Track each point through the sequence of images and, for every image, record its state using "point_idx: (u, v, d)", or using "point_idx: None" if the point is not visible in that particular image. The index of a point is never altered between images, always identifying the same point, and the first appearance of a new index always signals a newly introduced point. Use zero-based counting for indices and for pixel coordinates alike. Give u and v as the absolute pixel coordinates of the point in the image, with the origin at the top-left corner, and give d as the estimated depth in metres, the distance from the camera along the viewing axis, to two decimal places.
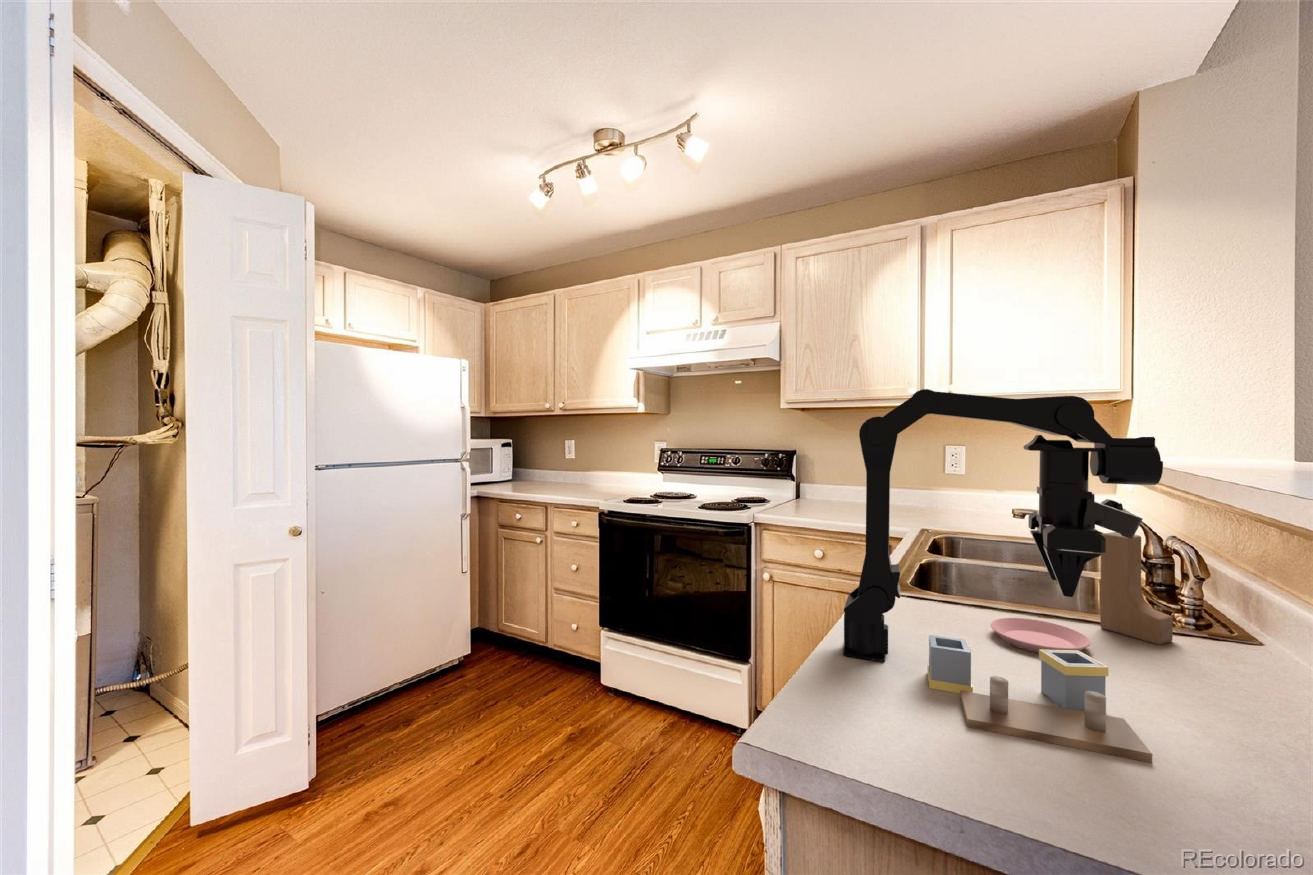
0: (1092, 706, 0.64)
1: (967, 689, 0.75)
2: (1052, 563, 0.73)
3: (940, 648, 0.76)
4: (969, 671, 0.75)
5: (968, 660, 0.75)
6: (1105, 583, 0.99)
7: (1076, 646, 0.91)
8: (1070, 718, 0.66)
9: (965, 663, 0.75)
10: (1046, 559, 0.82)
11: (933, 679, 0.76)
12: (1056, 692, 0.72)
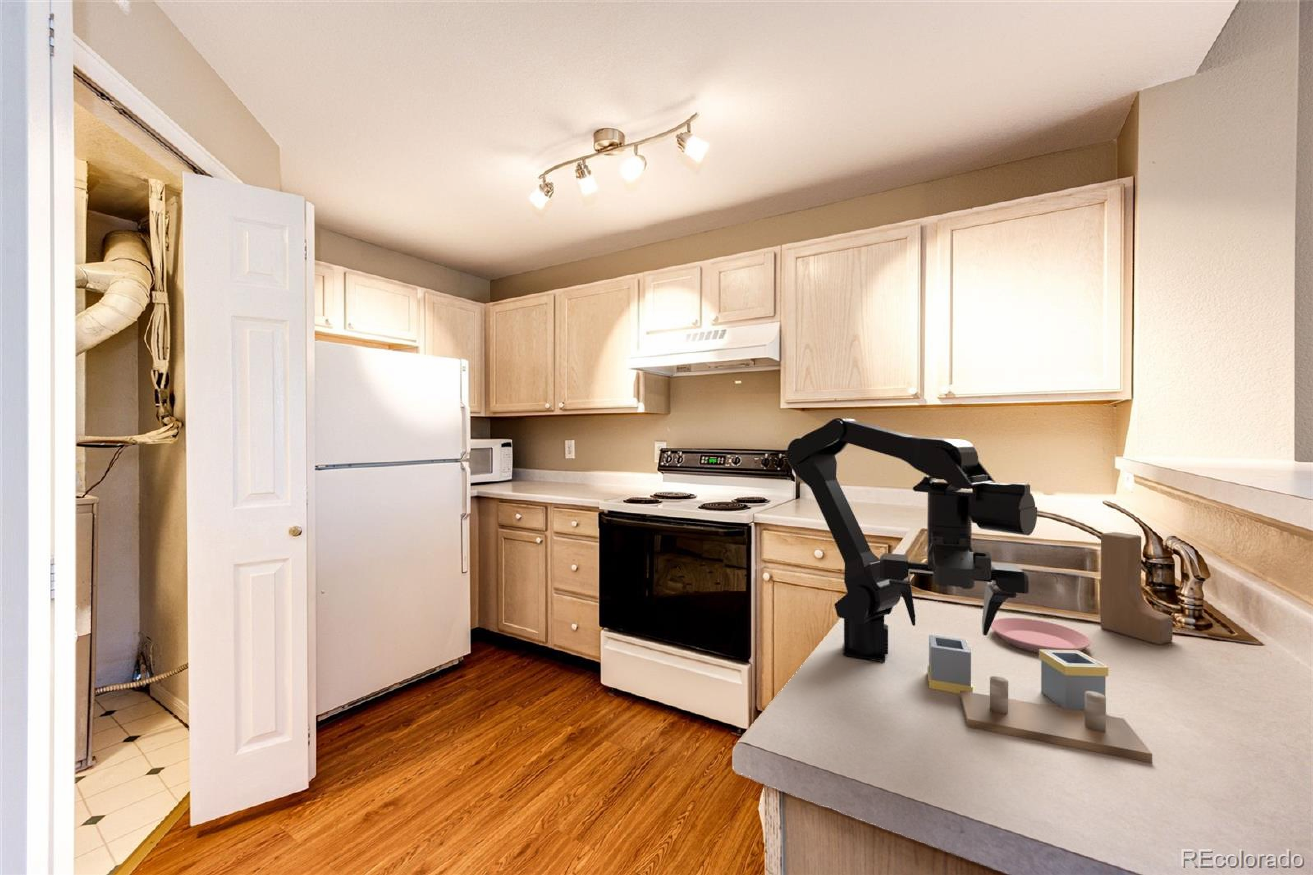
0: (1092, 706, 0.64)
1: (967, 689, 0.75)
2: None
3: (940, 648, 0.76)
4: (969, 671, 0.75)
5: (968, 660, 0.75)
6: (1105, 583, 0.99)
7: (1076, 646, 0.91)
8: (1070, 718, 0.66)
9: (965, 663, 0.75)
10: (984, 611, 0.77)
11: (933, 679, 0.76)
12: (1056, 692, 0.72)
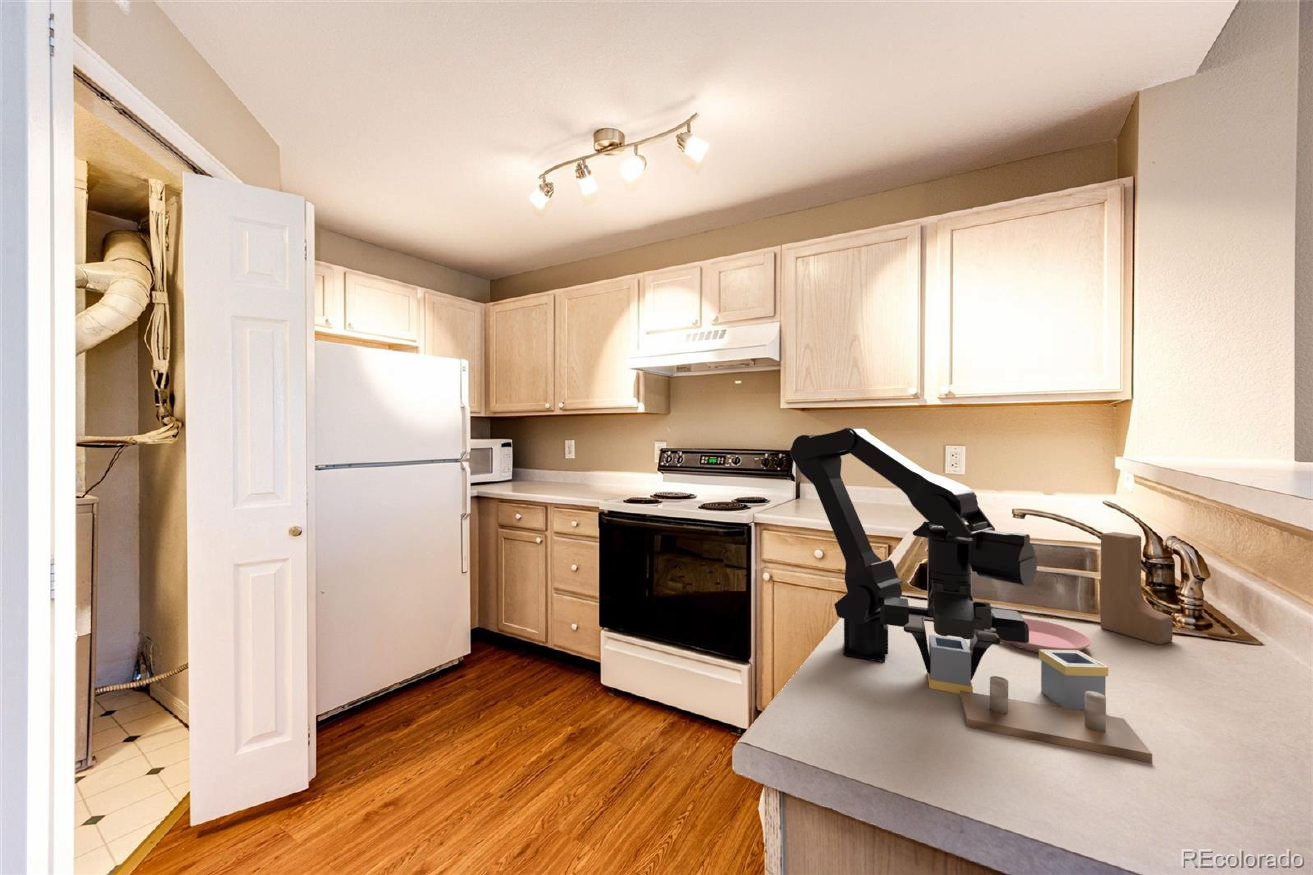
0: (1092, 706, 0.64)
1: (967, 689, 0.75)
2: None
3: (940, 648, 0.76)
4: (969, 671, 0.75)
5: (968, 660, 0.75)
6: (1105, 583, 0.99)
7: (1076, 646, 0.91)
8: (1070, 718, 0.66)
9: (965, 663, 0.75)
10: None
11: (933, 679, 0.76)
12: (1056, 692, 0.72)
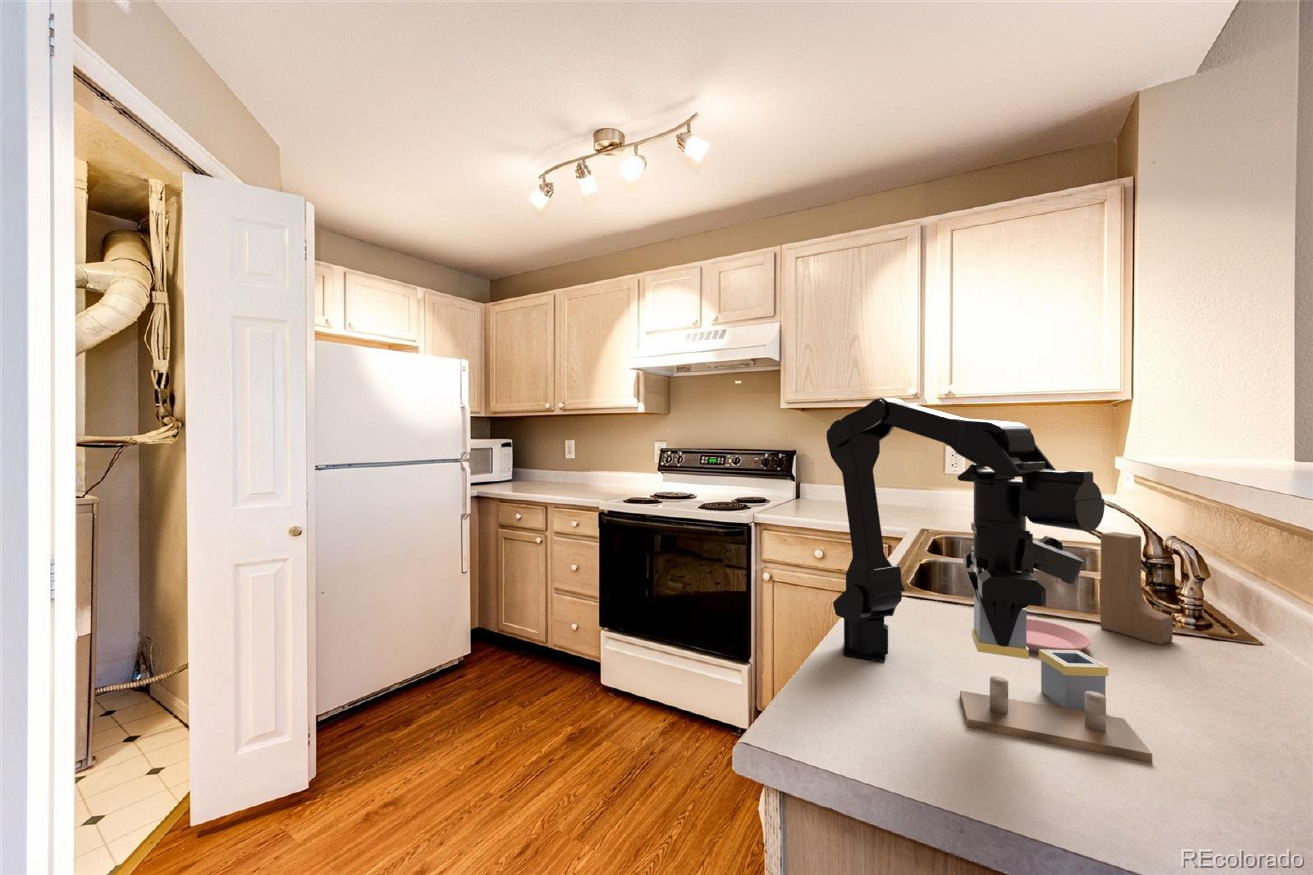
0: (1092, 706, 0.64)
1: None
2: (985, 610, 0.65)
3: None
4: None
5: None
6: (1105, 583, 0.99)
7: (1076, 646, 0.91)
8: (1070, 718, 0.66)
9: None
10: None
11: (1025, 646, 0.65)
12: (1056, 692, 0.72)
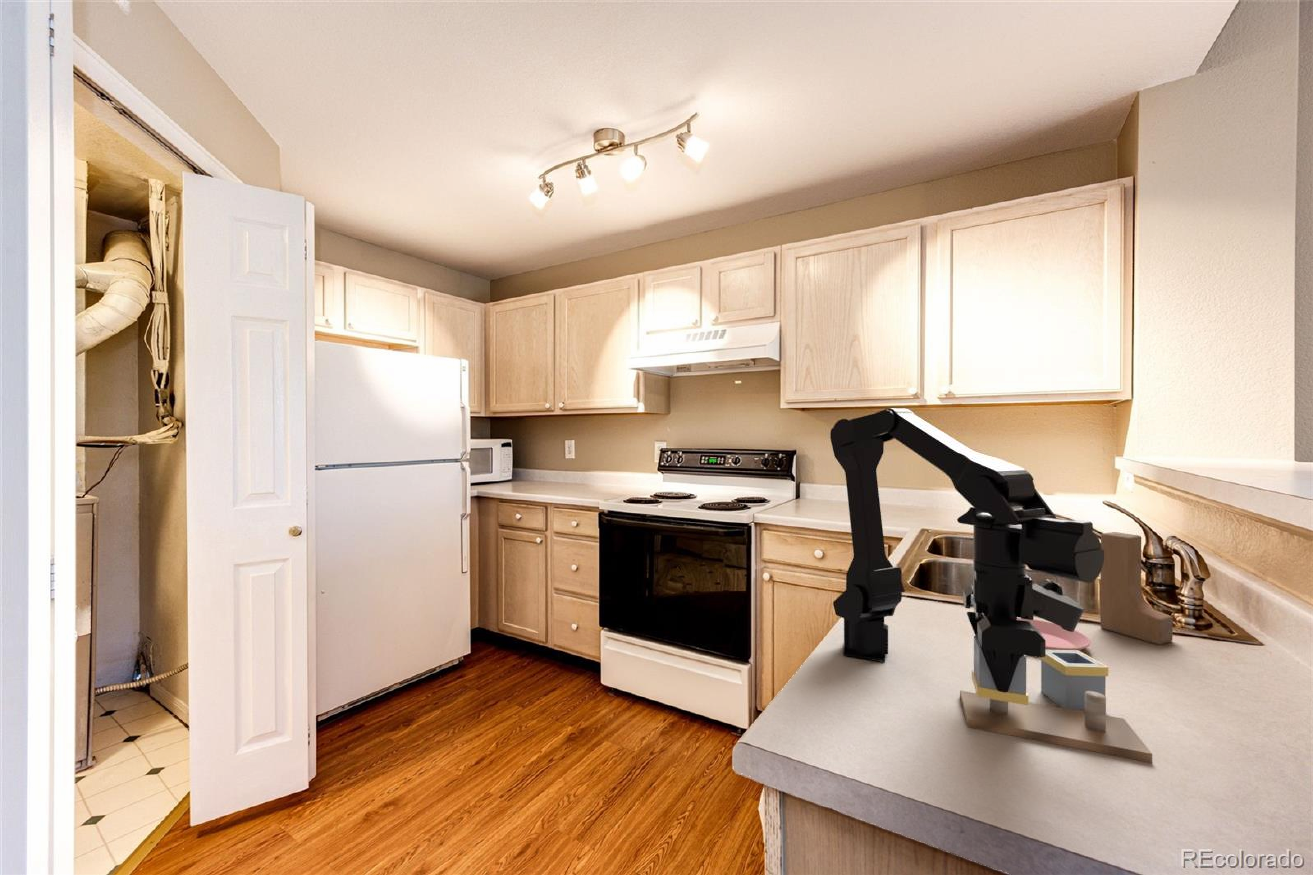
0: (1092, 706, 0.64)
1: None
2: (985, 656, 0.65)
3: None
4: None
5: None
6: (1105, 583, 0.99)
7: (1076, 646, 0.91)
8: (1070, 718, 0.66)
9: None
10: None
11: (1025, 692, 0.66)
12: (1056, 692, 0.72)
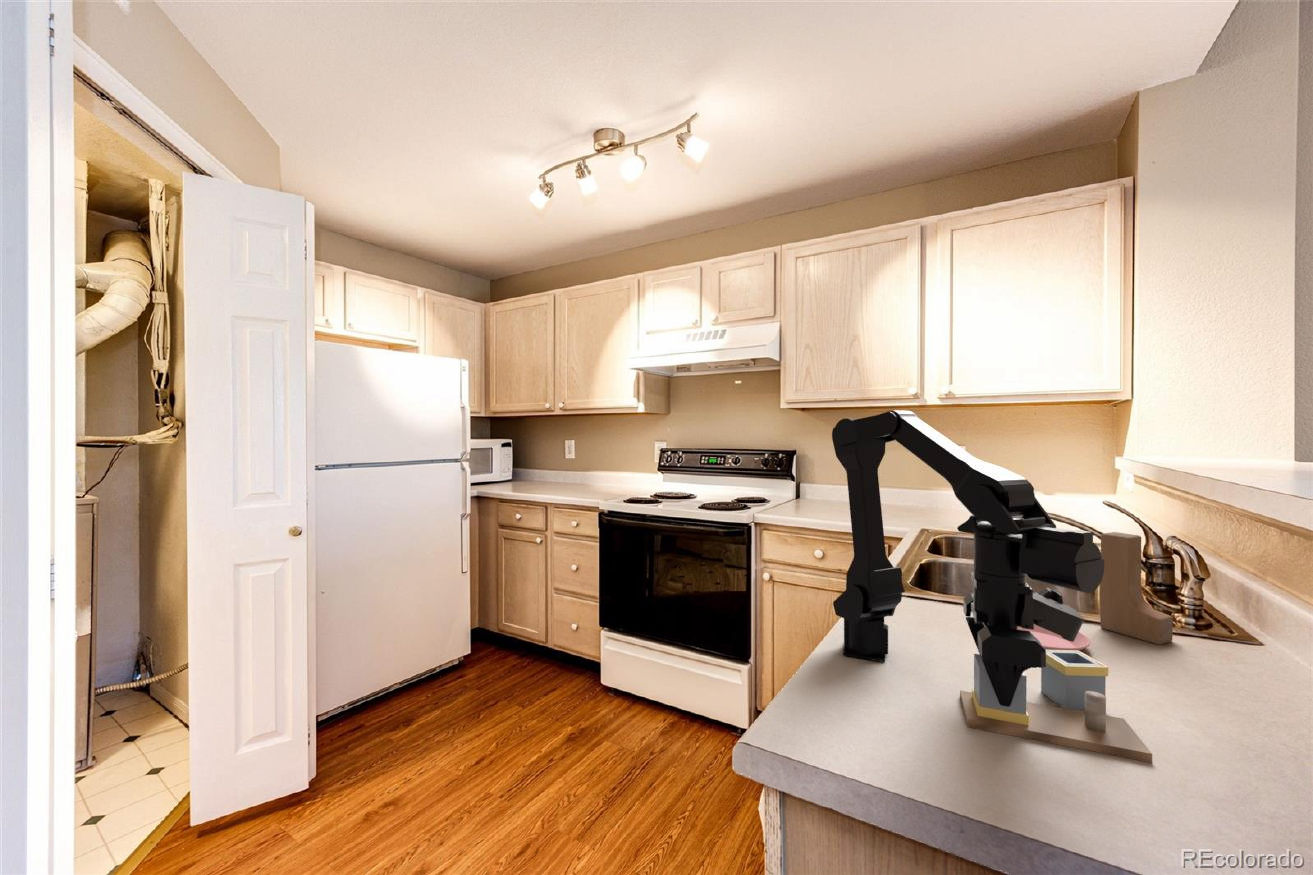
0: (1092, 706, 0.64)
1: None
2: (987, 670, 0.64)
3: (1024, 672, 0.66)
4: None
5: None
6: (1105, 583, 0.99)
7: (1076, 646, 0.91)
8: (1070, 718, 0.66)
9: None
10: None
11: (1025, 712, 0.66)
12: (1056, 692, 0.72)
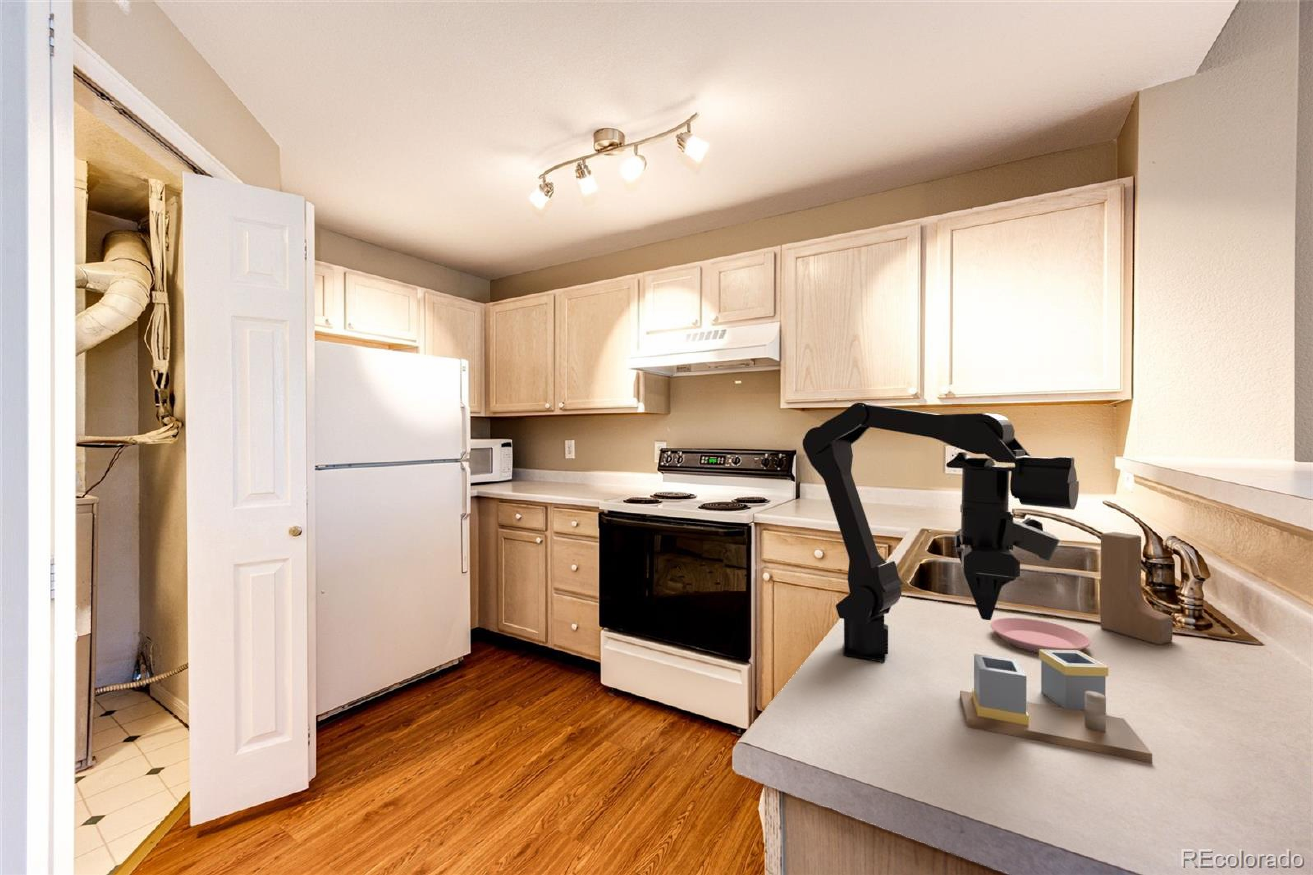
0: (1092, 706, 0.64)
1: None
2: (970, 586, 0.71)
3: (1024, 672, 0.66)
4: None
5: None
6: (1105, 583, 0.99)
7: (1076, 646, 0.91)
8: (1070, 718, 0.66)
9: None
10: None
11: (1025, 712, 0.66)
12: (1056, 692, 0.72)
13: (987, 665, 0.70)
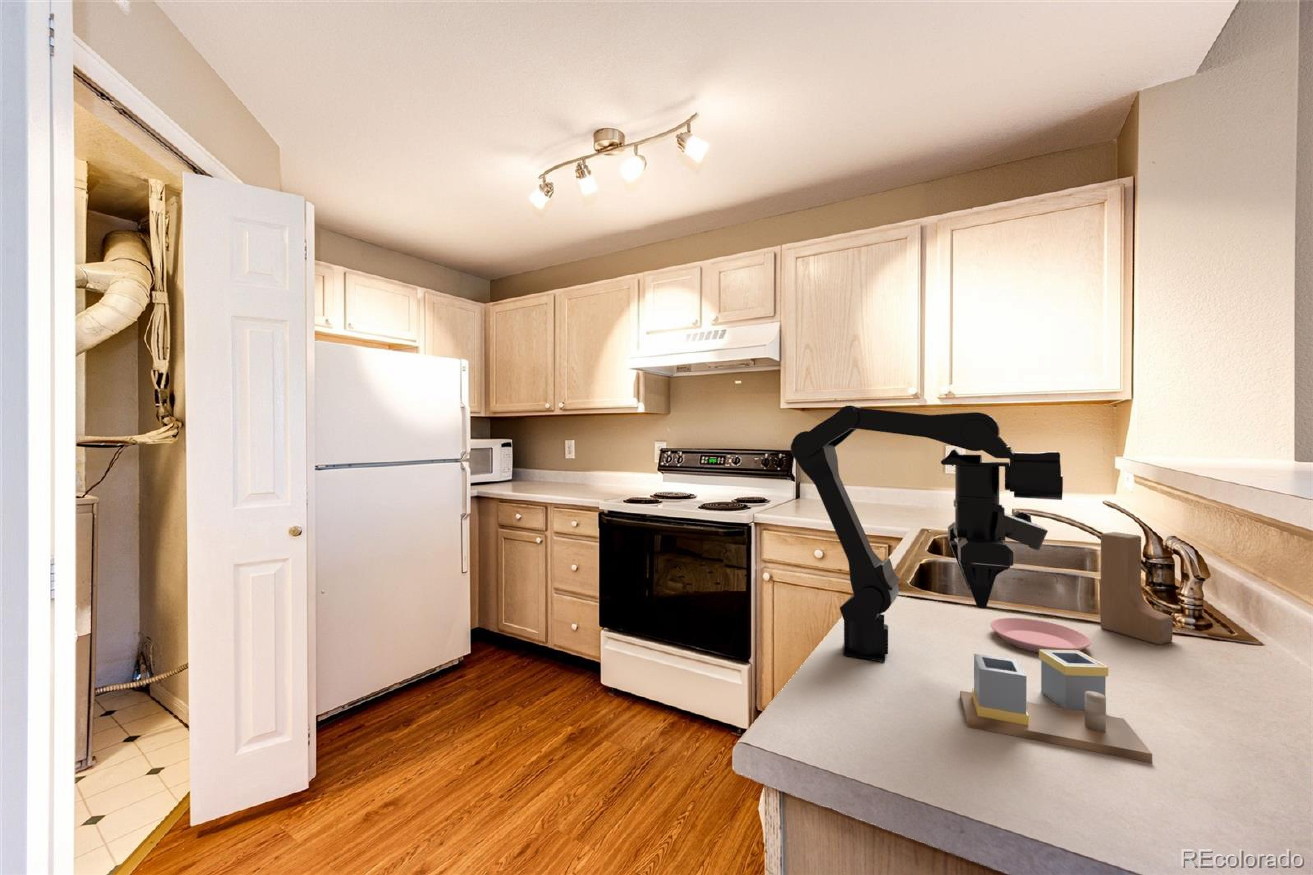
0: (1092, 706, 0.64)
1: None
2: (966, 576, 0.75)
3: (1024, 672, 0.66)
4: None
5: None
6: (1105, 583, 0.99)
7: (1076, 646, 0.91)
8: (1070, 718, 0.66)
9: None
10: None
11: (1025, 712, 0.66)
12: (1056, 692, 0.72)
13: (987, 665, 0.70)
